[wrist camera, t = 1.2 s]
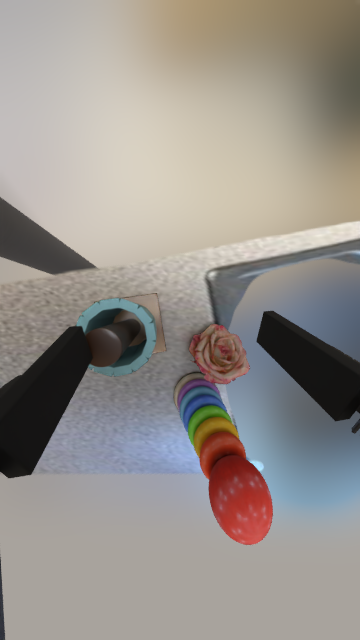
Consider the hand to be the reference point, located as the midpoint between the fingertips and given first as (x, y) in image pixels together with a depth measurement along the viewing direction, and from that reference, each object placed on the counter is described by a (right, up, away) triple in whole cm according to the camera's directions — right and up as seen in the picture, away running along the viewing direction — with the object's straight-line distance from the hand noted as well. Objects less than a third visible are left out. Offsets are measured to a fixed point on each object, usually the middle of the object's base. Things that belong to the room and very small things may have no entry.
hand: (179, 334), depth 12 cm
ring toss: (-8, 0, +15) cm, 17 cm away
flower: (+5, -4, +18) cm, 19 cm away
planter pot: (-8, 0, +14) cm, 16 cm away
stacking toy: (+3, -12, +18) cm, 22 cm away
